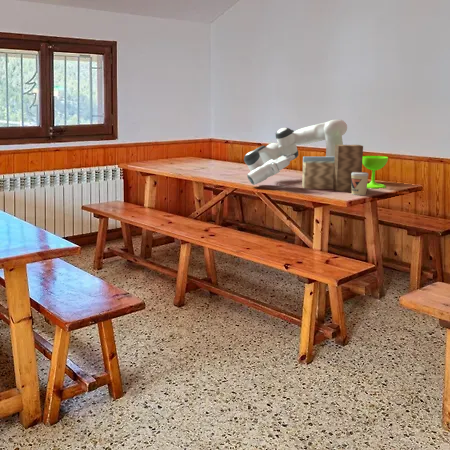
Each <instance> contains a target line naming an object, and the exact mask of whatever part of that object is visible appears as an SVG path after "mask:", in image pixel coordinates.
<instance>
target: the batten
mask: <svg viewBox="0 0 450 450" xmlns="http://www.w3.org/2000/svg"><path fill="white" fill-rule="evenodd" d="M306 161H335V157H326V156H303V157H302V163H303V162H306Z"/></svg>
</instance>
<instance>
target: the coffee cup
mask: <svg viewBox="0 0 450 450" xmlns="http://www.w3.org/2000/svg"><path fill="white" fill-rule="evenodd" d="M368 180H369V173H368V172H364V171H362V172H352V174H351V182H352V191H351V195H352V194H353V196H366V195H367V191H368V188H367V183H368V182H369V181H368Z"/></svg>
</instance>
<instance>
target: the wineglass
mask: <svg viewBox="0 0 450 450" xmlns="http://www.w3.org/2000/svg"><path fill="white" fill-rule="evenodd" d="M388 161H389V157H388V156H384V155H363V159H362V166H364V167H365V168H366V169H367V170H370V171H371V181H370V182H369V183H368V182H367V189H370V188H371V190H376V189H378V190H380V189H379V188H383V189H386V188H387V185H386V184H382V183H377V182H376V171H379V170H381V169H383V168H384V167H385V166H386V164H387V163H388Z"/></svg>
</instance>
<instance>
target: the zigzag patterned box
mask: <svg viewBox="0 0 450 450" xmlns="http://www.w3.org/2000/svg"><path fill="white" fill-rule="evenodd" d="M301 179H302V180H301V181H302V182H301V187H302V188H303V189H304V190H305V189H306V190H308V189H313V190H315V189H316V190H319V189H321V190H324V189H325V190H331V189H332V190H334V189H333V183H334V161H306V162H303V161H302V178H301Z"/></svg>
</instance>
